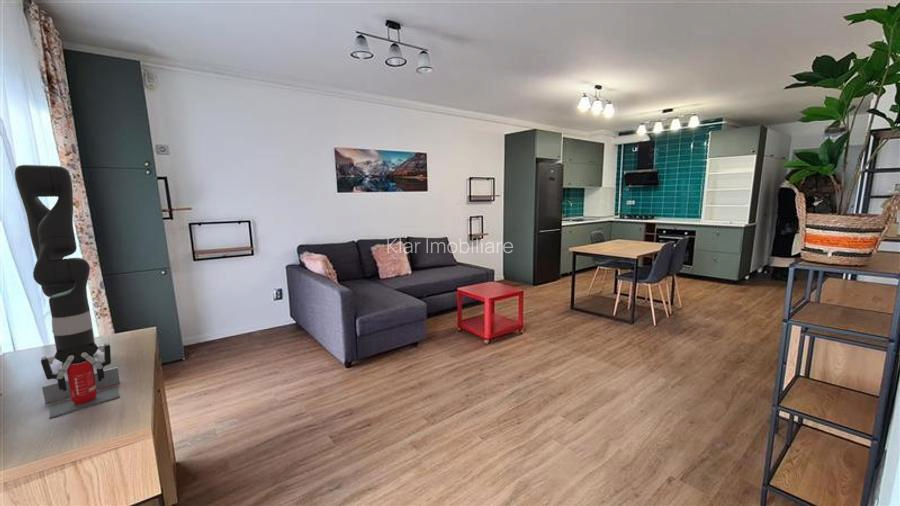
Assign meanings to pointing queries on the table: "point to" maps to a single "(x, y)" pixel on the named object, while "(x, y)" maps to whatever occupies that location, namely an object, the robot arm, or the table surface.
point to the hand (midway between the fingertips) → (82, 384)
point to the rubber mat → (69, 405)
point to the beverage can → (82, 382)
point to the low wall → (55, 393)
